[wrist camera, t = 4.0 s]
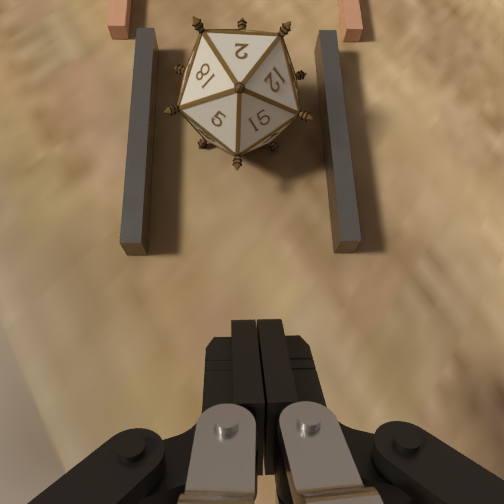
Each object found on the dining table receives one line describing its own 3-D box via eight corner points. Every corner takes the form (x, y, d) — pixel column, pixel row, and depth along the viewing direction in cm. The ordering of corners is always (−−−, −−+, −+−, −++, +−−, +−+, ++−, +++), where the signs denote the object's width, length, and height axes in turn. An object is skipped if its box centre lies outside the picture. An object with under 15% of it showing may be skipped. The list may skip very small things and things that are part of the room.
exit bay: (350, -17, 37) (354, -31, 36) (358, 41, 35) (363, 29, 34) (117, -21, 36) (114, -35, 35) (111, 38, 34) (107, 25, 33)
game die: (211, 156, 35) (124, 40, 29) (307, 91, 34) (238, -46, 28) (241, 223, 29) (135, 92, 22) (360, 145, 27) (286, -19, 21)
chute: (330, 51, 35) (336, 30, 33) (353, 252, 29) (361, 240, 27) (141, 49, 34) (136, 27, 32) (127, 255, 28) (119, 243, 26)
